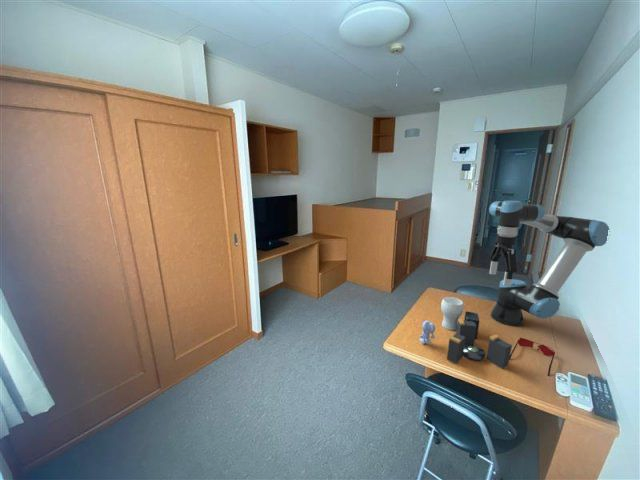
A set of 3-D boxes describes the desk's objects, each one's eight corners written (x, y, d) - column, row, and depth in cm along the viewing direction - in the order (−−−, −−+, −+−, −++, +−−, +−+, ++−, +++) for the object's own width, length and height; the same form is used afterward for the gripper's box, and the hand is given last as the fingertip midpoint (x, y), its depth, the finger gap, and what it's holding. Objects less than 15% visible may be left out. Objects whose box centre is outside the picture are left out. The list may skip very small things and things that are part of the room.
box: (463, 328, 141) (465, 310, 138) (475, 331, 139) (478, 313, 136) (464, 336, 134) (466, 318, 132) (476, 339, 132) (479, 320, 129)
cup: (456, 321, 148) (459, 296, 144) (464, 332, 138) (467, 306, 134) (436, 320, 149) (439, 296, 145) (442, 331, 139) (445, 305, 135)
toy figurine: (430, 338, 133) (432, 317, 130) (435, 346, 126) (437, 324, 124) (416, 338, 133) (418, 316, 130) (420, 346, 127) (422, 324, 124)
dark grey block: (453, 352, 122) (456, 331, 119) (462, 356, 119) (465, 335, 117) (446, 359, 118) (449, 337, 115) (456, 363, 115) (459, 341, 112)
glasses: (554, 358, 119) (556, 348, 118) (548, 377, 108) (551, 366, 107) (516, 344, 129) (518, 335, 128) (508, 360, 118) (510, 350, 117)
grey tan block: (470, 339, 131) (473, 319, 129) (473, 344, 127) (477, 324, 125) (455, 338, 132) (458, 318, 130) (458, 343, 129) (461, 323, 126)
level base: (479, 348, 125) (480, 342, 124) (488, 362, 116) (489, 355, 115) (457, 346, 126) (458, 340, 125) (464, 360, 117) (465, 353, 116)
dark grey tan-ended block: (508, 365, 113) (512, 343, 111) (502, 368, 112) (506, 345, 109) (491, 356, 120) (495, 334, 117) (486, 358, 118) (489, 336, 115)
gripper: (485, 229, 132) (479, 269, 137) (512, 241, 108) (503, 290, 113) (502, 230, 131) (495, 270, 136) (532, 242, 107) (523, 291, 112)
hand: (499, 279), depth 125 cm, fingers open, 13 cm apart
